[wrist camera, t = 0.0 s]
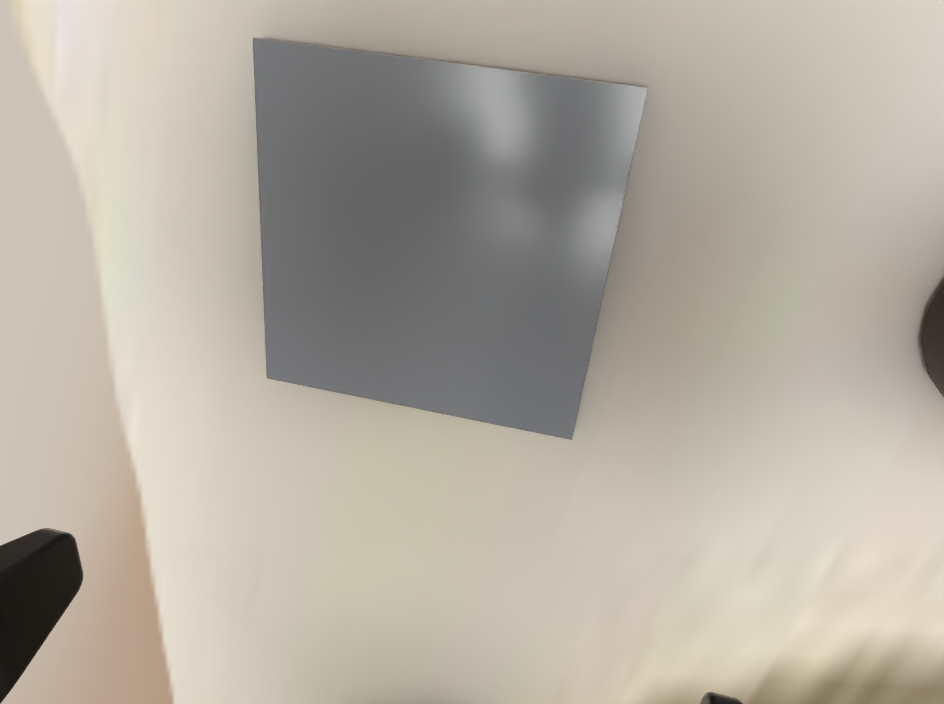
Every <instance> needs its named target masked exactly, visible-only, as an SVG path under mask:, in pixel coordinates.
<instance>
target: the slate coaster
mask: <svg viewBox="0 0 944 704" xmlns="http://www.w3.org/2000/svg"><path fill="white" fill-rule="evenodd" d="M253 53H254V77H255V101H256V126H257V150H258V174H259V198H260V223H261V247H262V271H263V295H264V319H265V344H266V368H267V378H269V379H274V380H278V381H283V382H288V383H293V384H298V385H303V386H308V387H313V388H318V389H323V390H328V391H333V392H338V393H343V394H348V395H353V396H358V397H363V398H368V399H373V400H377V401H382V402H387V403H392V404H397V405H402V406H407V407H412V408H417V409H422V410H427V411H432V412H437V413H442V414H447V415H452V416H457V417H462V418H467V419H472V420H477V421H481V422H486V423H491V424H496V425H501V426H506V427H511V428H516V429H521V430H526V431H531V432H536V433H541V434H546V435H551V436H556V437H561V438H566V439H571V440H572V437H573V432H574V427H575V423H576V418H577V413H578V409H579V404H580V399H581V395H582V390H583V385H584V381H585V376H586V372H587V367H588V362H589V358H590V353H591V348H592V344H593V339H594V334H595V330H596V325H597V320H598V316H599V311H600V306H601V302H602V297H603V293H604V288H605V283H606V279H607V274H608V269H609V265H610V260H611V255H612V251H613V246H614V241H615V237H616V232H617V228H618V223H619V218H620V214H621V209H622V204H623V200H624V195H625V190H626V186H627V181H628V176H629V172H630V167H631V163H632V158H633V153H634V149H635V144H636V139H637V135H638V130H639V125H640V121H641V116H642V111H643V107H644V102H645V97H646V93H647V87H642V86H634V85H626V84H618V83H610V82H602V81H595V80H587V79H579V78H571V77H563V76H555V75H547V74H540V73H532V72H524V71H516V70H508V69H500V68H492V67H484V66H477V65H469V64H461V63H453V62H445V61H437V60H429V59H422V58H414V57H406V56H398V55H390V54H382V53H374V52H366V51H359V50H351V49H343V48H335V47H327V46H319V45H311V44H304V43H296V42H288V41H280V40H272V39H264V38H253Z"/></svg>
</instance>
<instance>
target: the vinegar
mask: <svg viewBox="0 0 944 704" xmlns="http://www.w3.org/2000/svg"><path fill="white" fill-rule="evenodd" d="M922 342H923V348H924V354H925V360H926V366H927V371H928V374H929V376H930V377H931V379H932V380H933V382H934V383H935V385H936V386H937V388H938V389H939V391H940V392H941V394H942V395H943V397H944V287H943V289H942V290H941V292H940V294H939V295H938V297H937V298H936V300H935V302H934V303H933V305H932V307H931V308H930V310H929V314H928V318H927V323H926V327H925V331H924V336H923V340H922Z"/></svg>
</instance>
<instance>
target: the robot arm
mask: <svg viewBox="0 0 944 704" xmlns="http://www.w3.org/2000/svg"><path fill="white" fill-rule="evenodd" d="M82 580H83V570H82V565H81V561H80V557H79V552H78V548H77V543H76V540H75V538H74V537H73V536H72V534H70V533H66V532H63V531H59V530H55V529H50V528H44V529H40V530H37V531H34V532H32V533H30V534H27V535H25V536H22V537H20V538H18V539H15V540H13V541H10V542H8V543H6V544H4V545H1V546H0V703H1V702H2V701H3V700H4V698H5V697H6V696H7V694H8V693H9V692H10V690H11V689H12V688H13V686H14V685H15V683H16V682H17V681H18V679H19V678H20V677H21V675H22V674H23V672H24V671H25V669H26V668H27V666H28V665H29V663H30V662H31V660H32V659H33V657H34V656H35V655H36V653H37V651H38V650H39V649H40V647H41V646H42V644H43V643H44V641H45V640H46V638H47V637H48V635H49V634H50V632H51V631H52V629H53V628H54V626H55V625H56V623H57V622H58V621H59V619H60V617H61V616H62V615H63V613H64V612H65V610H66V609H67V607H68V606H69V604H70V603H71V601H72V600H73V598H74V597H75V595H76V594H77V592H78V591H79V588H80V586H81V584H82ZM700 704H743V703H742V702H741V701H739V700H738V699H736V698H734V697H730V696H726V695H722V694H717V693H713V692H708V693H706V694H705V695H704V697H703V698H702V701H701V703H700Z"/></svg>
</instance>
